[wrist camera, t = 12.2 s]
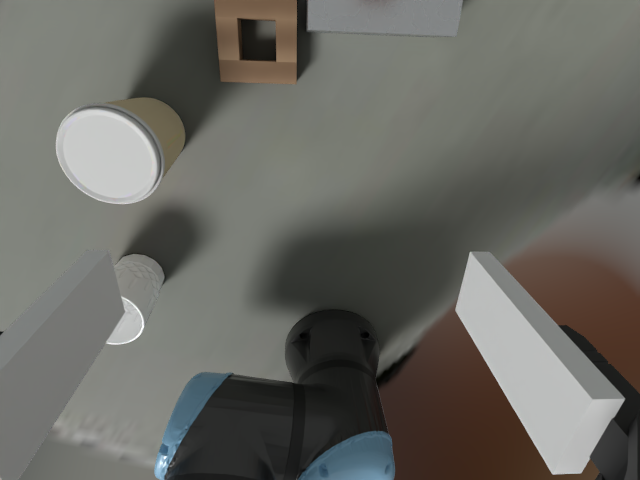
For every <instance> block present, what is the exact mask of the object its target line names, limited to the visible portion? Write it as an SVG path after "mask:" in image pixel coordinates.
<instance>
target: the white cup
mask: <svg viewBox="0 0 640 480" xmlns="http://www.w3.org/2000/svg"><path fill="white" fill-rule="evenodd" d="M114 270H115V274H116V278H117V282H118V286H119V290H120V294H121V298H122V302H123V305H124V309H125V313H124V315H123V317H122V318H121V320H120V321H119V323H118V324H117V326H116V328H115V329H114V331H113V332H112V334H111V335H110V337H109V339H108V340H107V342H106V343H107V344H125V343H128V342H131V341H133V340H135V339H136V338H138V337H139V336H140V334H141V333H142V331H143V329H144V327H145V325H146V323H147V320H148V318H149V316H150V314H151V312H152V310H153V307H154V305H155V303H156V300H157V298H158V296H159V293H160V290H161V287H162V285H163V282H164V278H165V277H164V273H163V270H162V268H161V266H160V265H159V264H158V263H157V262H156V261H155V260H153V259H151V258H150V257H148V256H146V255H140V254H131V255H127V256H124V257H122V258H121V259H120V260H119V261H118V262H117V263H116V264H115V265H114Z"/></svg>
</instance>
